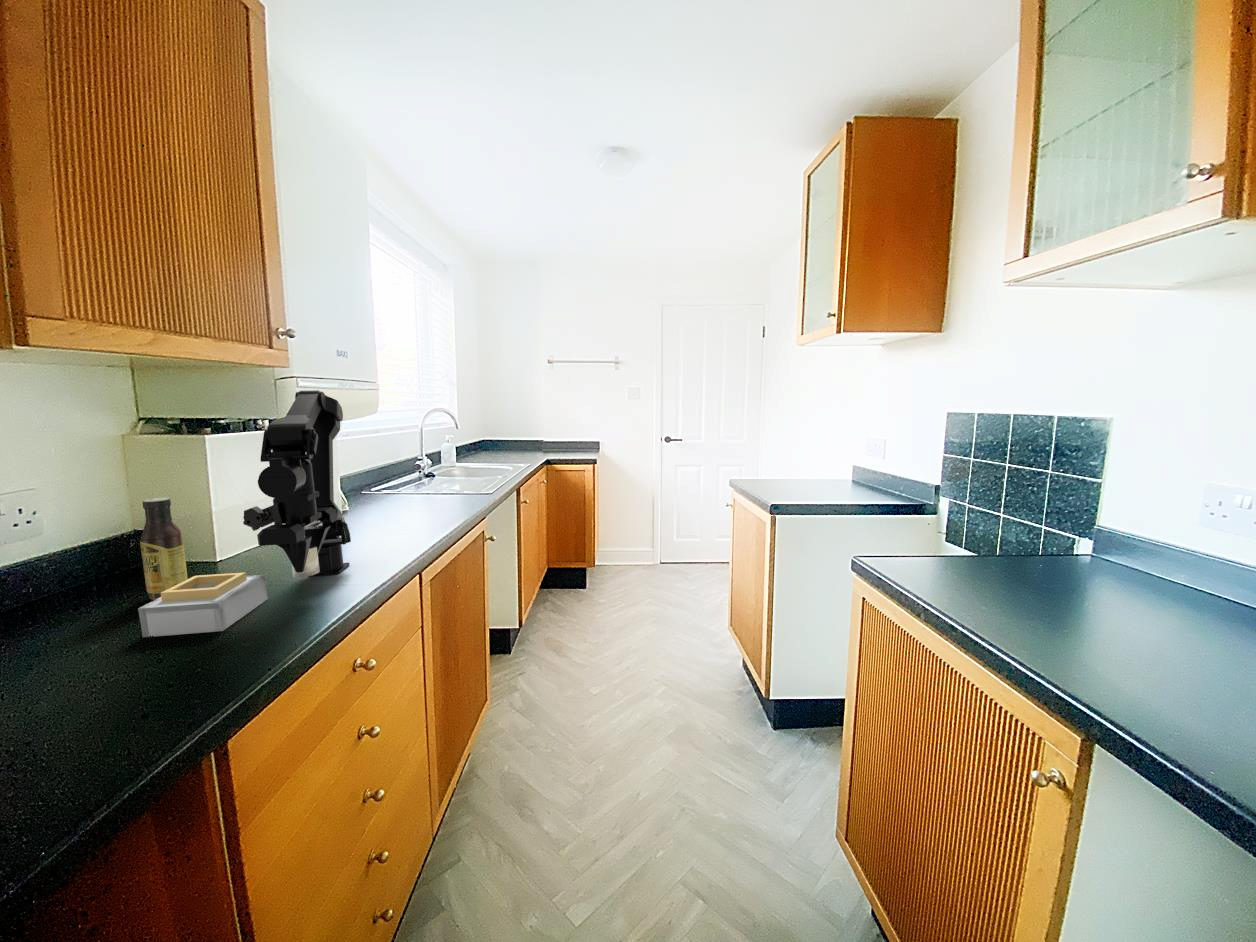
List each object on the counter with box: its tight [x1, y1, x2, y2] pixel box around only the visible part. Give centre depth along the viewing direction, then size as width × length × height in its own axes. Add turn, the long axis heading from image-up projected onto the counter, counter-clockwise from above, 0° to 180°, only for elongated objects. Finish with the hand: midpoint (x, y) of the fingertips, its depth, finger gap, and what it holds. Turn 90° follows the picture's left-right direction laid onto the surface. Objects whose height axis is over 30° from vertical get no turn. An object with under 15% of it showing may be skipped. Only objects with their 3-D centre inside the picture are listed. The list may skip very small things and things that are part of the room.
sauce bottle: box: [139, 497, 189, 601], centre depth 102 cm, size 6×6×20 cm
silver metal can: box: [291, 545, 320, 578], centre depth 99 cm, size 4×4×5 cm
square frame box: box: [137, 571, 269, 638], centre depth 92 cm, size 14×12×6 cm
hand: (305, 568), depth 99 cm, fingers closed on silver metal can, 4 cm apart
